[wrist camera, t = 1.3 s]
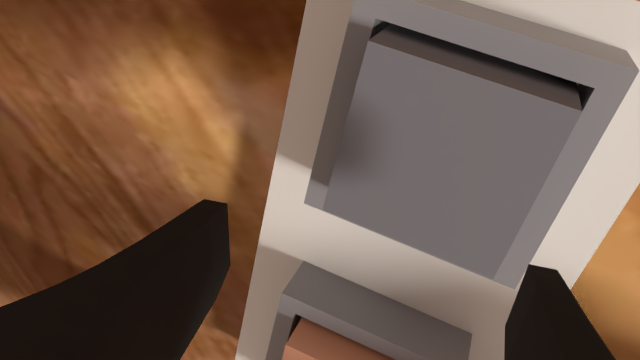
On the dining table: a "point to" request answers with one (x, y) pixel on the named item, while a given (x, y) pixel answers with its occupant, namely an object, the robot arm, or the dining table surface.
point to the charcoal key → (448, 146)
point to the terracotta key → (325, 345)
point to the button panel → (402, 259)
